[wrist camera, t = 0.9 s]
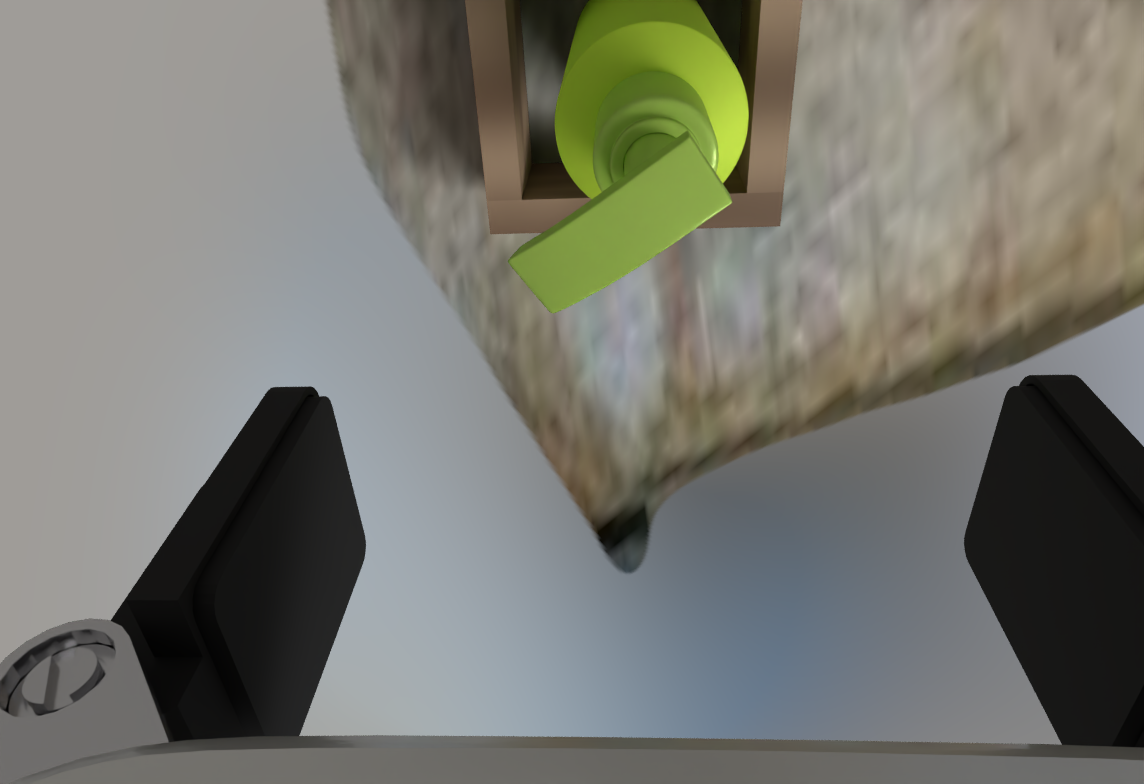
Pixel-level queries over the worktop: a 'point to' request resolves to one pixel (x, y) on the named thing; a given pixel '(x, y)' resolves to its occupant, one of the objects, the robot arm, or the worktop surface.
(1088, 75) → the worktop surface
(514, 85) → the walnut stand
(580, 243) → the soap dispenser
